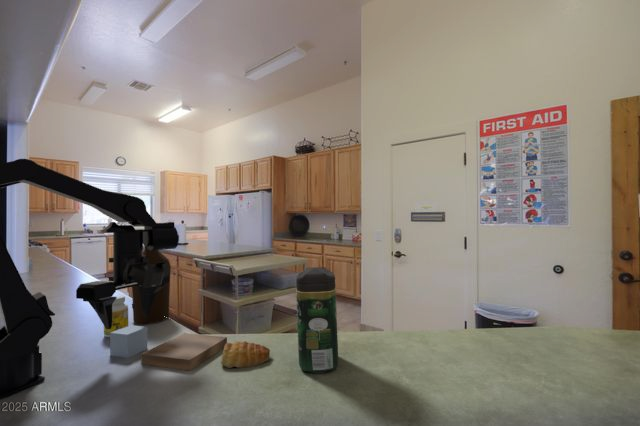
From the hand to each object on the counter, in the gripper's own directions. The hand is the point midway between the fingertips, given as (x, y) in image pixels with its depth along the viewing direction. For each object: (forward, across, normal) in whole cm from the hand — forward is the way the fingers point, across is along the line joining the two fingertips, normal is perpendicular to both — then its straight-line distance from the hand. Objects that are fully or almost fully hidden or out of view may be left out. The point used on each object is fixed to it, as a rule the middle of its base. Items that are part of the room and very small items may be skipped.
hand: (128, 322), depth 68 cm
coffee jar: (+7, +5, -43) cm, 44 cm away
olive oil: (+7, +20, +15) cm, 26 cm away
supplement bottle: (+7, +8, +14) cm, 17 cm away
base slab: (+7, +2, -14) cm, 16 cm away
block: (+7, 0, 0) cm, 7 cm away
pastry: (+7, +3, -28) cm, 29 cm away
